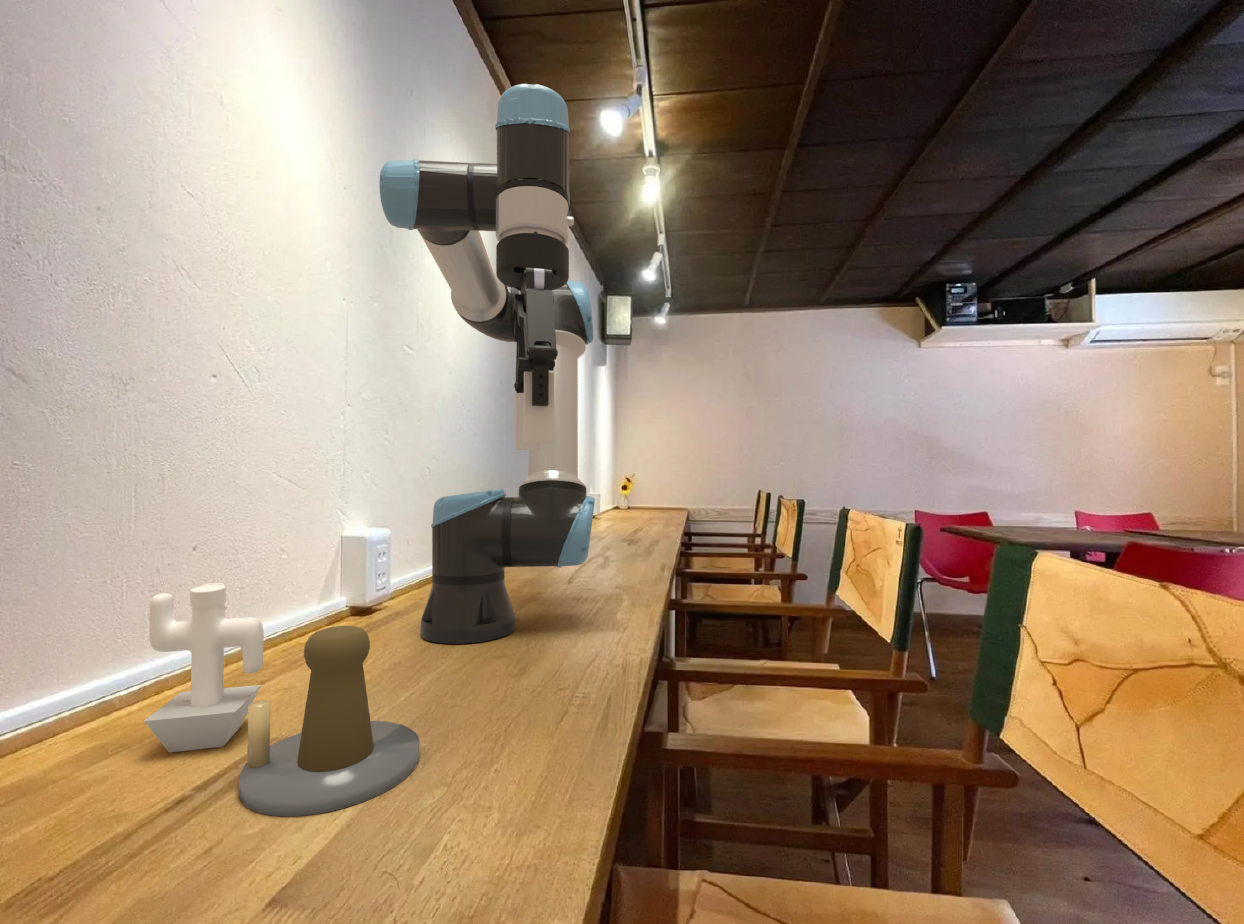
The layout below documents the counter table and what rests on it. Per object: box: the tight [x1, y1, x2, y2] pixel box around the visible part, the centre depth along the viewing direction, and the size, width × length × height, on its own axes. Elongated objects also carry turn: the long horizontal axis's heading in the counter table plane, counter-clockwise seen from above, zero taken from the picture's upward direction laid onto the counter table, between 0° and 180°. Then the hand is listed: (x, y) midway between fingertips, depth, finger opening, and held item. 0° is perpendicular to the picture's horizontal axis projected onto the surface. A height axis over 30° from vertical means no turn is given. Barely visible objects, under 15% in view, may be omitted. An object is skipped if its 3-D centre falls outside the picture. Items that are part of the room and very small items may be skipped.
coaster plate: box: [238, 700, 421, 817], centre depth 50 cm, size 14×14×6 cm
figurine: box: [143, 582, 265, 753], centre depth 56 cm, size 7×9×15 cm
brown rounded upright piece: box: [297, 625, 374, 772], centre depth 50 cm, size 6×6×11 cm
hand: (532, 447), depth 59 cm, fingers open, 13 cm apart
